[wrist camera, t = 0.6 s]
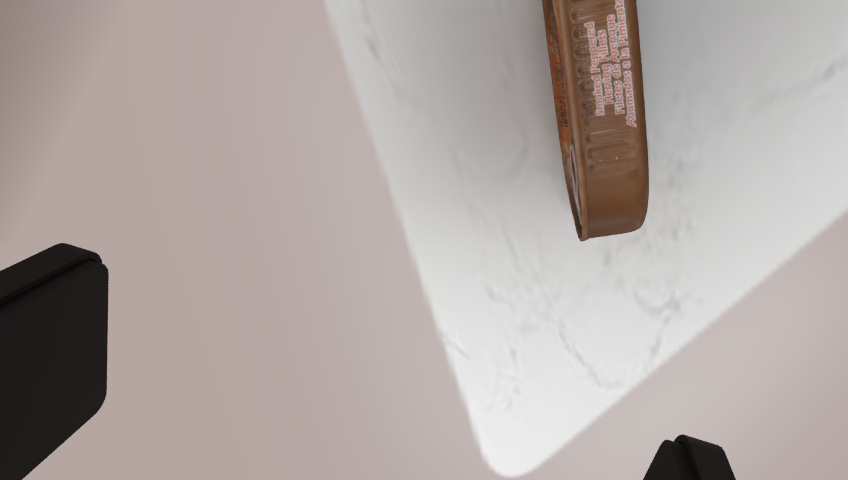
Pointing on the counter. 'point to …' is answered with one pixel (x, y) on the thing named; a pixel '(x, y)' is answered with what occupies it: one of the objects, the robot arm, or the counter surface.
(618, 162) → the tin
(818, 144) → the counter surface
